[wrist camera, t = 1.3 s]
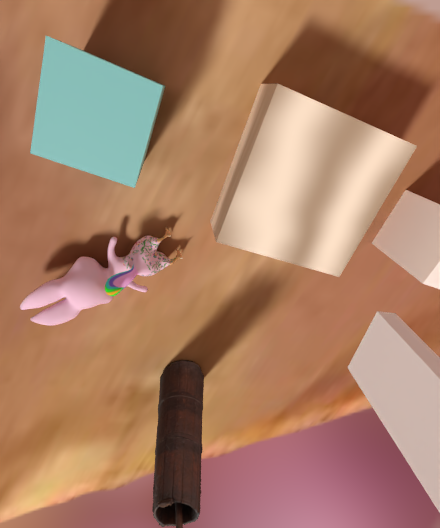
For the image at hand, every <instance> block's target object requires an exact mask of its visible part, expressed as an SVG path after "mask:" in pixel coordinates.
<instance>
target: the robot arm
mask: <svg viewBox="0 0 440 528" xmlns="http://www.w3.org/2000/svg"><path fill="white" fill-rule="evenodd" d="M348 369H349V371H350V372H351V374H352V376H353V377H354V379H355V380H356V382H357V383H358V385H359V387H360V388H361V390H362V391H363V393H364V394H365V396H366V398H367V399H368V401H369V402H370V404H371V406H372V407H373V409H374V410H375V412H376V413H377V415H378V417H379V418H380V420H381V421H382V423H383V424H384V426H385V428H386V429H387V431H388V432H389V434H390V435H391V437H392V439H393V440H394V442H395V443H396V445H397V446H398V448H399V450H400V451H401V452H402V454H403V456H404V457H405V459H406V461H407V462H408V464H409V465H410V467H411V468H412V470H413V472H414V473H415V475H416V476H417V478H418V479H419V481H420V482H421V484H422V486H423V487H424V489H425V490H426V492H427V493H428V495H429V497H430V498H431V500H432V501H433V503H434V505H435V506H436V508H437V509H438V511H439V512H440V358H439V357H438V356H437V355H436V354H435V353H434V352H433V351H432V350H431V349H430V348H429V347H428V346H427V345H426V344H425V343H424V342H423V341H422V340H421V339H420V338H419V337H418V336H417V335H416V334H415V333H414V332H413V331H412V330H411V329H410V328H409V327H408V325H407V324H406V323H405V322H404V321H403V320H402V319H401V318H400V317H399V316H398V315H397V314H396V313H388V312H378V311H377V313H376V315H375V317H374V318H373V320H372V322H371V324H370V326H369V328H368V330H367V332H366V334H365V336H364V337H363V339H362V341H361V343H360V345H359V347H358V349H357V351H356V353H355V355H354V356H353V358H352V360H351V362H350V364H349V366H348Z"/></svg>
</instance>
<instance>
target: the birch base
mask: <svg viewBox="0 0 440 528" xmlns="http://www.w3.org/2000/svg"><path fill="white" fill-rule="evenodd" d="M416 147H417V146H416V145H413V144H411V143H409V142H407V141H405V140H402V139H400V138H398V137H396V136H393V135H391V134H389V133H387V132H385V131H382V130H380V129H378V128H376V127H373V126H371V125H369V124H367V123H364V122H362V121H360V120H358V119H356V118H353V117H351V116H349V115H347V114H344V113H342V112H340V111H338V110H336V109H333V108H331V107H329V106H327V105H324V104H322V103H320V102H318V101H315V100H313V99H311V98H309V97H307V96H304V95H302V94H300V93H298V92H295V91H293V90H291V89H289V88H287V87H284V86H282V85H280V84H261V85H260V88H259V91H258V93H257V96H256V99H255V102H254V104H253V107H252V110H251V112H250V115H249V118H248V121H247V123H246V126H245V129H244V131H243V134H242V137H241V140H240V142H239V145H238V148H237V150H236V153H235V156H234V159H233V161H232V164H231V167H230V169H229V172H228V175H227V178H226V180H225V183H224V186H223V188H222V191H221V194H220V197H219V199H218V202H217V205H216V207H215V210H214V213H213V216H212V218H211V221H210V222H211V225H212V229H213V232H214V236H215V239H216V242H218V243H222V244H225V245H229V246H232V247H236V248H239V249H243V250H246V251H250V252H253V253H257V254H260V255H264V256H267V257H271V258H274V259H278V260H281V261H285V262H289V263H292V264H296V265H299V266H303V267H306V268H310V269H313V270H317V271H320V272H324V273H327V274H331V275H334V276H338V277H340V275H341V273H342V271H343V270H344V268H345V266H346V265H347V263H348V261H349V260H350V258H351V256H352V255H353V253H354V251H355V250H356V248H357V246H358V245H359V243H360V241H361V240H362V238H363V236H364V234H365V233H366V231H367V229H368V228H369V226H370V224H371V223H372V221H373V219H374V218H375V216H376V214H377V213H378V211H379V209H380V208H381V206H382V204H383V203H384V201H385V199H386V197H387V196H388V194H389V192H390V191H391V189H392V187H393V186H394V184H395V182H396V181H397V179H398V177H399V176H400V174H401V172H402V171H403V169H404V167H405V166H406V164H407V162H408V160H409V159H410V157H411V155H412V154H413V152H414V150H415V149H416Z"/></svg>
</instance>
